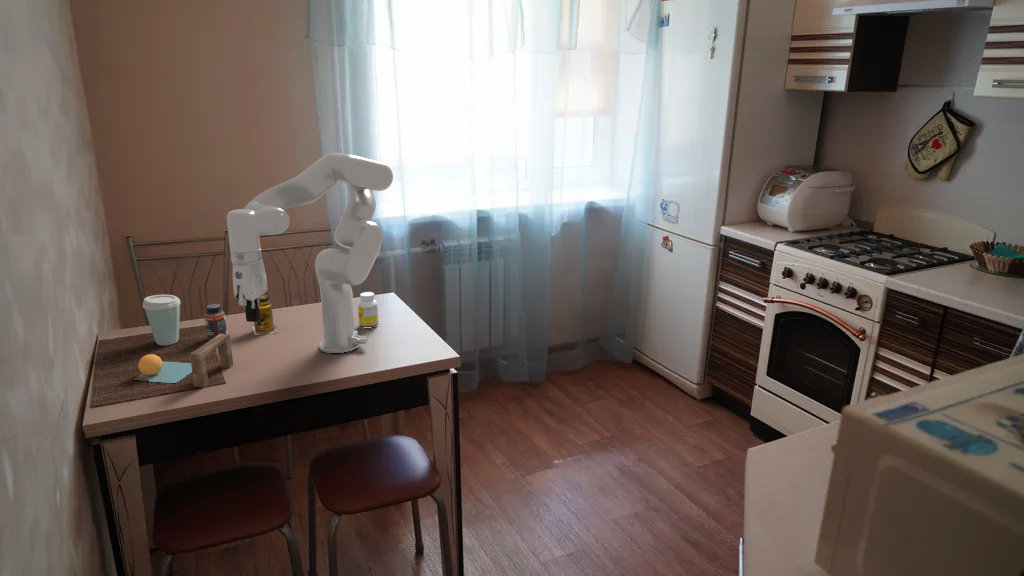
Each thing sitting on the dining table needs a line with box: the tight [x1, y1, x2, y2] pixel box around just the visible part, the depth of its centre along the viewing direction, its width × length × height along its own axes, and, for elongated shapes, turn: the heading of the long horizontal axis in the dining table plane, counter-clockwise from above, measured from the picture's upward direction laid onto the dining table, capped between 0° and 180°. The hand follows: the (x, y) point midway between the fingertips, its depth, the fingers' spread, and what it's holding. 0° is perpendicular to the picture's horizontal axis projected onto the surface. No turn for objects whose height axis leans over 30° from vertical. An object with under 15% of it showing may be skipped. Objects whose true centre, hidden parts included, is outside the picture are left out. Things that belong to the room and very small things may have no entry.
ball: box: [138, 353, 163, 376], centre depth 186 cm, size 6×6×6 cm
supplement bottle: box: [204, 303, 228, 342], centre depth 212 cm, size 6×6×11 cm
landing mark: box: [138, 360, 192, 384], centre depth 189 cm, size 13×13×1 cm
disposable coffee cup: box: [142, 294, 182, 346], centre depth 208 cm, size 11×11×15 cm
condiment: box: [251, 294, 278, 336], centre depth 220 cm, size 7×8×12 cm
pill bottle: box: [357, 291, 379, 328], centre depth 225 cm, size 6×6×12 cm
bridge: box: [189, 333, 234, 389], centre depth 186 cm, size 3×15×10 cm, turn 173°
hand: (253, 320), depth 182 cm, fingers closed
